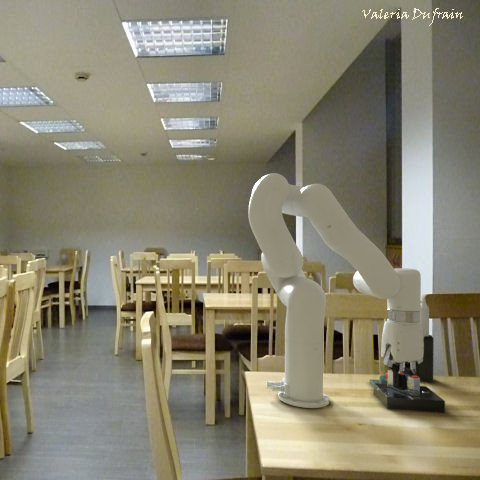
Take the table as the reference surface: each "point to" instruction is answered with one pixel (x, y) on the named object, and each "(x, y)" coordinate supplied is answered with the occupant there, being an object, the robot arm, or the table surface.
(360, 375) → the table surface
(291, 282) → the robot arm
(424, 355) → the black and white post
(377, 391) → the panel
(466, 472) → the table surface
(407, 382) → the grey rectangular block
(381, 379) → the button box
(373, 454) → the table surface
